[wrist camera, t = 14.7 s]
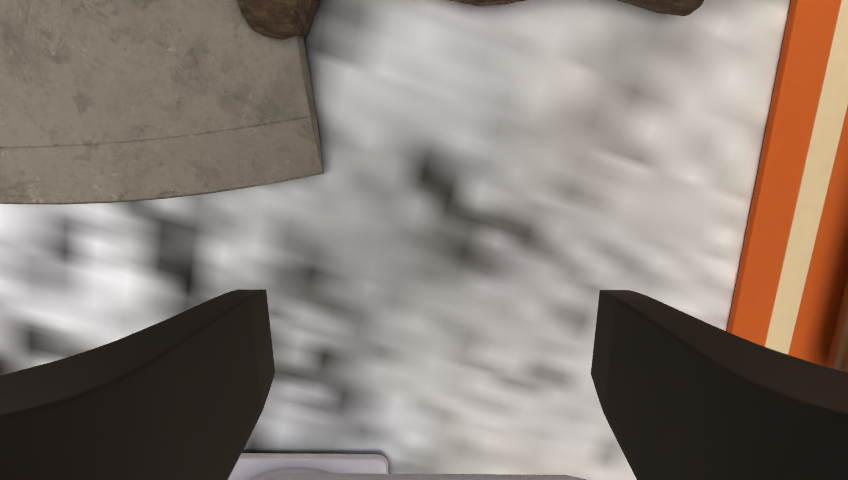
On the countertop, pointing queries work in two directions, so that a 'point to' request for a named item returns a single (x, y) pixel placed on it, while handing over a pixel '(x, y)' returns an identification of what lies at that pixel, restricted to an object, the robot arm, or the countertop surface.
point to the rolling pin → (840, 337)
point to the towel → (800, 194)
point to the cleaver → (161, 97)
